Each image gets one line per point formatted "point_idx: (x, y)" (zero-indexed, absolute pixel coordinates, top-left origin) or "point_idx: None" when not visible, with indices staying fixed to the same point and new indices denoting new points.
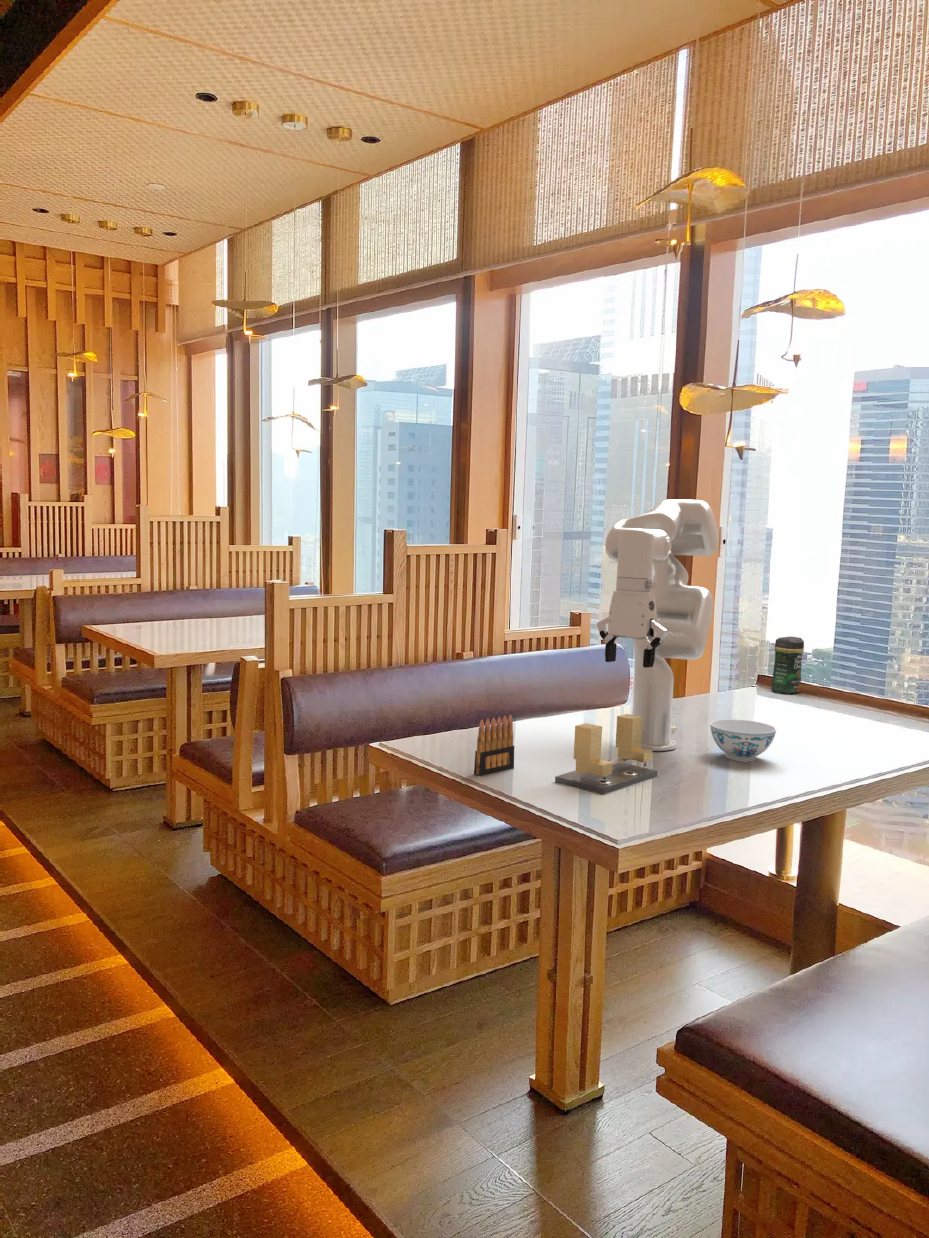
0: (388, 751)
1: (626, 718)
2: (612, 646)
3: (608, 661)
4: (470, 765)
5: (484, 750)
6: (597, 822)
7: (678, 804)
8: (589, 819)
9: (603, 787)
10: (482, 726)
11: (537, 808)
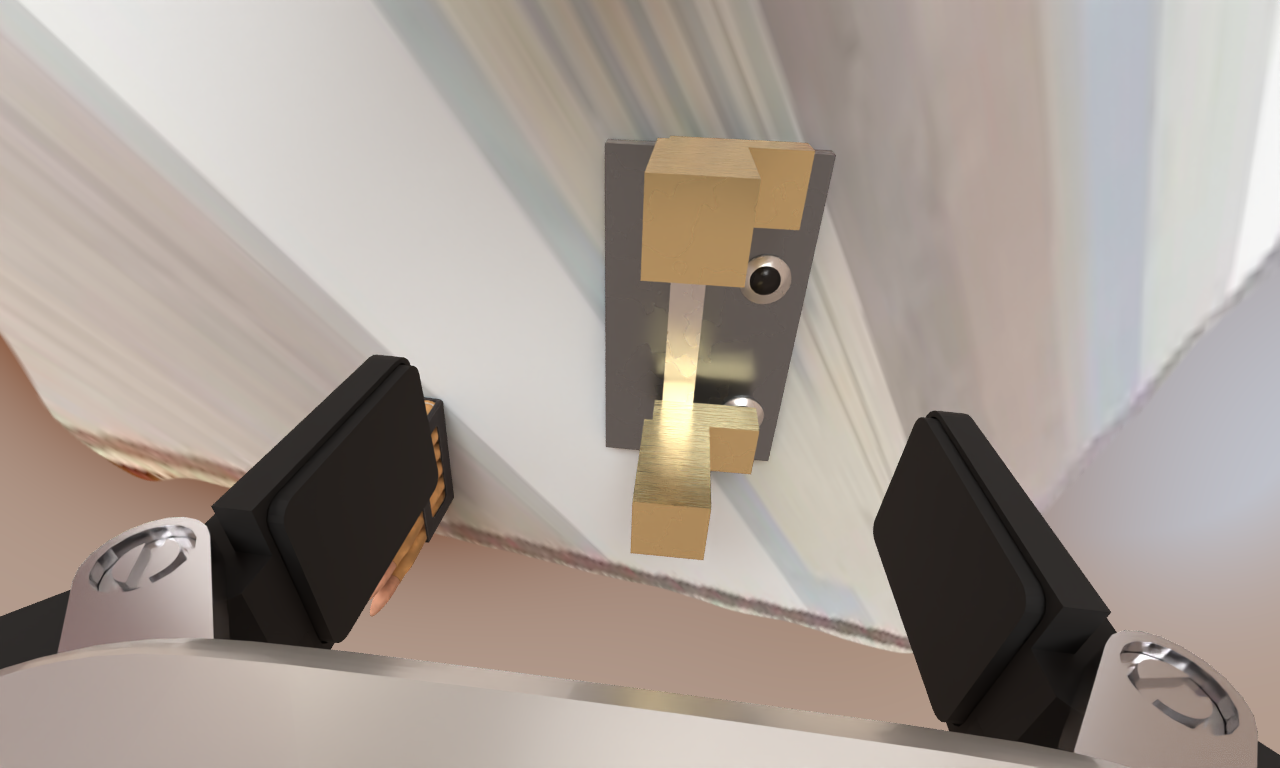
0: (150, 468)
1: (702, 284)
2: (332, 569)
3: (437, 478)
4: None
5: (423, 535)
6: (841, 594)
7: (985, 406)
8: (819, 589)
9: (762, 453)
10: (388, 599)
11: (700, 589)
